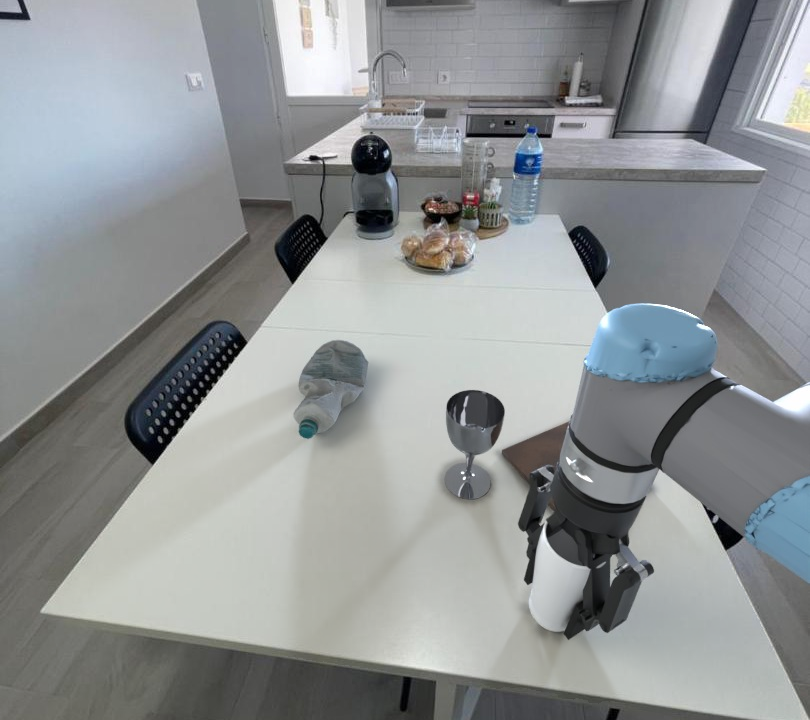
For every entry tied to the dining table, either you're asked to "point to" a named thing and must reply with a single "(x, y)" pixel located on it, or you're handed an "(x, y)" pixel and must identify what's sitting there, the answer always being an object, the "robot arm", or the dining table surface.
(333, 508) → the dining table surface
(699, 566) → the dining table surface
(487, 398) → the silver metal goblet
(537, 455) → the walnut board
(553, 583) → the drinking glass
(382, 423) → the dining table surface
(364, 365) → the crushed plastic bottle
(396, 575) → the dining table surface
